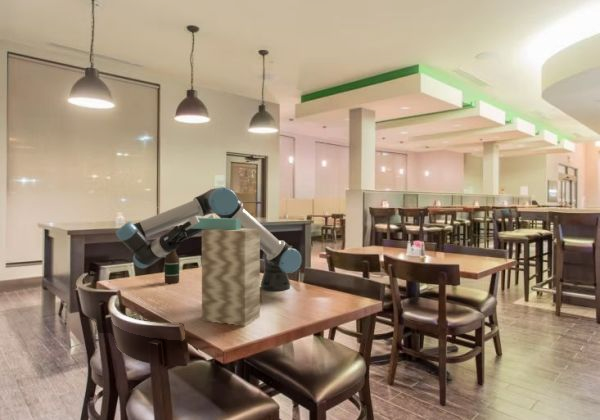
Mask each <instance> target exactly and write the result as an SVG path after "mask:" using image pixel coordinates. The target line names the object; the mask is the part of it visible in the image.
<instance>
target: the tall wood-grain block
mask: <svg viewBox="0 0 600 420" xmlns="http://www.w3.org/2000/svg"><path fill="white" fill-rule="evenodd" d="M260 251H261V249H260V229H244V228H241V229H240V230H220V229H205V230H202V231H201V321H202V320H203V321H202V322H207V321H211V322H210V323H215V322H218V323H217V324H223V323H228V324H227V325H231V324H235V325H234V326H239V325H242V326H241V327H246V326H247V325H249V324H251V323H253V322H255V321H256V320H258V318H260V317H261V315H260V314H261V313H260V312H261V303H260V294H261V293H260V292H261V290H260V289H261V279H260V278H261V274H260V273H261V270H260V269H261V259H260V258H261V257H260V256H261V252H260ZM255 319H256V320H255ZM252 321H253V322H252Z"/></svg>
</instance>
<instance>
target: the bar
mask: <svg viewBox="0 0 600 420" xmlns="http://www.w3.org/2000/svg"><path fill="white" fill-rule="evenodd" d="M190 219H191V218H190ZM198 219H199V223H198V224H196V225H194V226H193V227H191V228H190V229H220V230H240V229H241V219H229V218H220V217H217V218H216V217H215V218H208V217H198Z"/></svg>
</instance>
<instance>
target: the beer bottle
mask: <svg viewBox="0 0 600 420" xmlns="http://www.w3.org/2000/svg"><path fill="white" fill-rule="evenodd" d="M164 258H165V259H164V284H166V285H175V284H176V285H177V284H178V283H180V258H179V255H178V254H177V249H175V250H174V251H172V252H170V253H169V254H167V255H166V257H164Z"/></svg>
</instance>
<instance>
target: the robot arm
mask: <svg viewBox="0 0 600 420" xmlns="http://www.w3.org/2000/svg"><path fill="white" fill-rule="evenodd" d="M214 214H215V215H217V216H218V218H229V219H241V228H244V229H260V250H261V251H263V260H264V261H263V267H264V268H263V276H262V278H261V280H260V289H261V290H265V291H270V292H271V291H277V292H279V291H286V290H290V288H291V282H290V278H289V275H288V274H292V273H295V272H296V271H297V270H299V268H300V267H301V264H302V255H301V252H299V250H297V249H296V248H292V247H291V246H290V245H289V244H288V243H287V242H286V241H285V240H283V239H282V240H279V239H278V238H277V237H276V236H275V235H273V233H271V231H269V230H268V229H267V228H266V227H265V226H264V225H263V224H261V222H259V221H258V220H257V219H256V218H255V217H254V216H253V215H252V214H251V213H249V212H248V211H247V210H246V209H245V208H244V203H243V201H241V200H240V199H239V198H238V196H237V194H236V193H235V192H234V191H233V190H232V189H230V188H227V187H223V186H222V187H217V188H215V187H214V188H212V189H209V190H207V191H206V192H204V193H202V194H200V195H197V196H195V197H193V199H192V200H191V201H188V202H187V203H183V204H181V205H179V206H176V207H174V208H171V209H168V210H166V211H163V212H161V213H159V214H155V215H154V216H150V217H149V218H146V219H143V220H140V221H139V222H136V223H132V221H128V222H127V223H125V224H123V225H122V226H121V227H119V228H118V229H117V230H116V231H115V236H117V238H118V239H119V240H120V241H121V242H122V243H123V244H124V245H125V246H126V247H127V248H128V249H129V250H130V251H131V252H132V253H133V256H132V261H133V263H134V265H135V266H136V267H137V268H139V269H146V268H148V267H150V266H153V265H154V264H155V263H156V262H158V261H159V260H161V259H163V258H166V256H167V254H169V253H170V252H172V251H174V250H177V249H178V248H179V247H180V243H181V242H183V241H185V240H188V239H190V238H192V237H193V236H195V235H197V234H199V233H202V230H205V229H190V228H191V227H193V226H194V225H196V224H198V223H199V219H198V218H199V217H201V218H204V217H205V216H208V215H210V216H208V217H207V218H216V217H215V215H214ZM190 218H191V219H190ZM178 225H179V226H178ZM170 228H172V229H171V230H170V231H169V232H166V233H164V234H162V235H161V236H160V237H158V238H157V239H154V240H153V241H152V242H151V241H149V240H148V238H149V237H150V236H154V235H155V234H159V233H161V232H163V231H165V230H169V229H170Z"/></svg>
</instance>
